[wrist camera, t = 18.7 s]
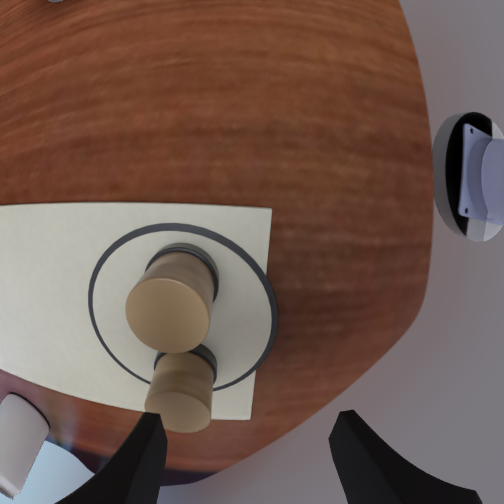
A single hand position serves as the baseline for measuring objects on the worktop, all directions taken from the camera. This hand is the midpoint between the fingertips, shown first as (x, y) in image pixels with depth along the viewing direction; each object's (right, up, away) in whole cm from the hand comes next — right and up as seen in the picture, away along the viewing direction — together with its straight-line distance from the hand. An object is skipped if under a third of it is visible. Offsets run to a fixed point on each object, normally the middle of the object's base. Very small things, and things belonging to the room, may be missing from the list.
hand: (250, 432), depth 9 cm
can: (-25, -11, +10) cm, 30 cm away
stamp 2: (-4, 0, +7) cm, 8 cm away
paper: (-17, +3, +6) cm, 19 cm away
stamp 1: (-4, +6, +6) cm, 9 cm away
